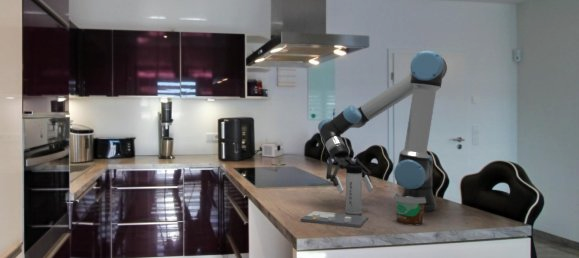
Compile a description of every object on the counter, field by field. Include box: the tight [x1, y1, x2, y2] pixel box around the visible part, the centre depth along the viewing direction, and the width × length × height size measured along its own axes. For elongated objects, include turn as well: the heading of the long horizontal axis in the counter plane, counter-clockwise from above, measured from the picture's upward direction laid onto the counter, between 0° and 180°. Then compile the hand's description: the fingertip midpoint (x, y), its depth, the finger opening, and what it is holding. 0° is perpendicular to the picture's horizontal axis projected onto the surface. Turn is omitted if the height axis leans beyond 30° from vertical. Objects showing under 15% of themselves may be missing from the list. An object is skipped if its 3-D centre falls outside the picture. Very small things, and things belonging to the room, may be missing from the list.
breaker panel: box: [300, 210, 369, 228], centre depth 161 cm, size 22×14×2 cm, turn 68°
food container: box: [393, 192, 426, 226], centre depth 158 cm, size 12×6×10 cm, turn 45°
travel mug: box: [345, 163, 363, 216], centre depth 171 cm, size 6×7×20 cm
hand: (356, 191), depth 169 cm, fingers open, 13 cm apart
